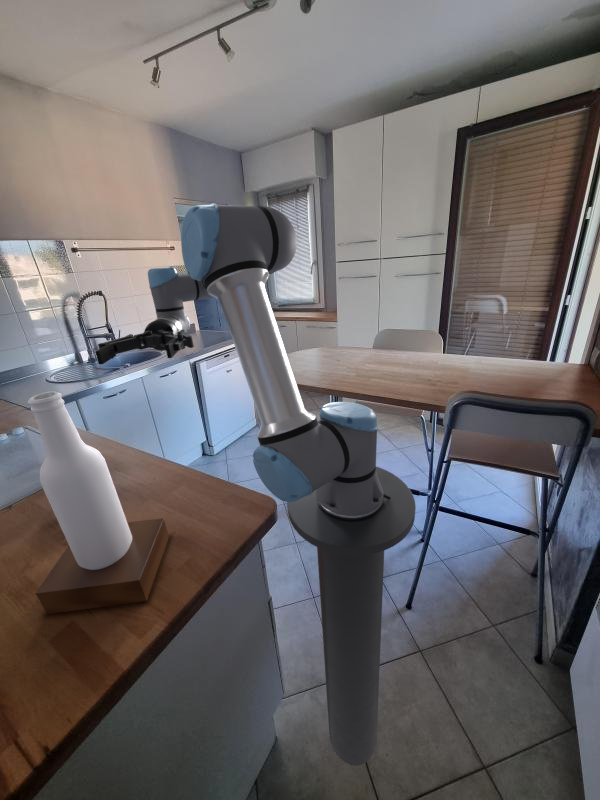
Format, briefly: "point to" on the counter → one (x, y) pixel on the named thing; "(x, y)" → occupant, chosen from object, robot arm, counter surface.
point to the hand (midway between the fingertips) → (133, 354)
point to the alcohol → (79, 488)
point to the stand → (107, 574)
